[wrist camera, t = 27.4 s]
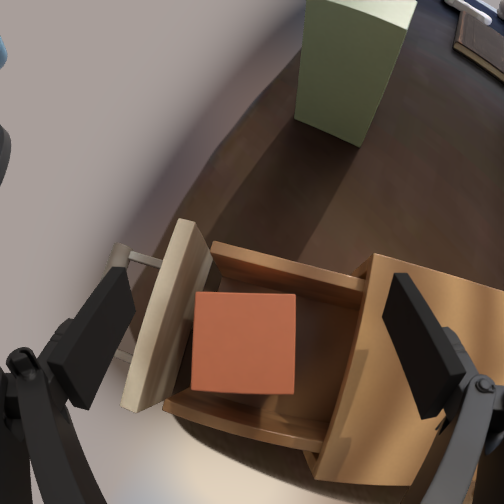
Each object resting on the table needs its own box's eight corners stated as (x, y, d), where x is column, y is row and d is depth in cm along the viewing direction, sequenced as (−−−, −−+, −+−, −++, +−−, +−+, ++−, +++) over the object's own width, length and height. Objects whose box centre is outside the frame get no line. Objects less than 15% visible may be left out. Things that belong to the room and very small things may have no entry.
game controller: (493, 16, 42) (494, 18, 38) (487, 27, 46) (488, 31, 41) (446, -13, 45) (442, -14, 41) (441, -1, 49) (437, -1, 44)
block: (217, 375, 23) (190, 390, 14) (219, 312, 25) (194, 290, 16) (281, 377, 23) (294, 394, 14) (283, 314, 24) (296, 293, 15)
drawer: (106, 370, 24) (56, 373, 17) (148, 239, 28) (113, 202, 20) (337, 439, 22) (365, 471, 15) (374, 299, 26) (414, 278, 18)
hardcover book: (512, 52, 41) (516, 46, 39) (519, 96, 36) (524, 89, 33) (458, 15, 44) (461, 9, 42) (451, 48, 39) (455, 39, 36)
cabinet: (296, 436, 23) (313, 479, 14) (337, 285, 27) (373, 252, 18) (451, 451, 21) (510, 475, 12) (481, 321, 25) (546, 305, 16)
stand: (360, 148, 31) (407, 30, 16) (293, 118, 33) (306, -6, 17) (378, 105, 33) (417, 1, 18) (319, 80, 35) (336, -28, 19)
